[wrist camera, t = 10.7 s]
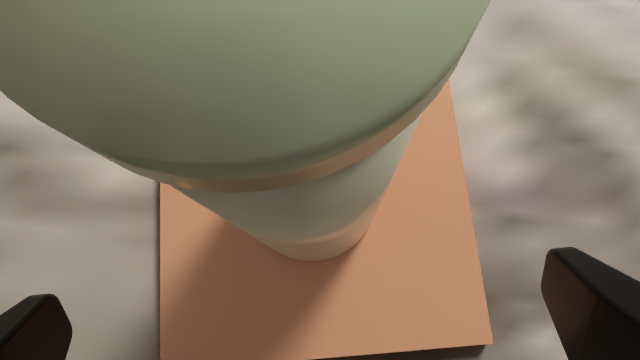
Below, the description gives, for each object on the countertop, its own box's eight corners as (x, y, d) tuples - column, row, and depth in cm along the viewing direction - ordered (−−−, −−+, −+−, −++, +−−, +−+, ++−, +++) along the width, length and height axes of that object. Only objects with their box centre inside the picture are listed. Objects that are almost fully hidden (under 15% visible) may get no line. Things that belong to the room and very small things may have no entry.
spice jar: (403, 173, 16) (614, -212, 4) (335, 291, 16) (321, 293, 3) (289, 110, 17) (155, -385, 5) (218, 219, 16) (-187, -20, 4)
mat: (487, 341, 16) (493, 343, 15) (166, 369, 16) (159, 372, 15) (439, 50, 18) (442, 42, 18) (165, 78, 19) (159, 71, 18)
